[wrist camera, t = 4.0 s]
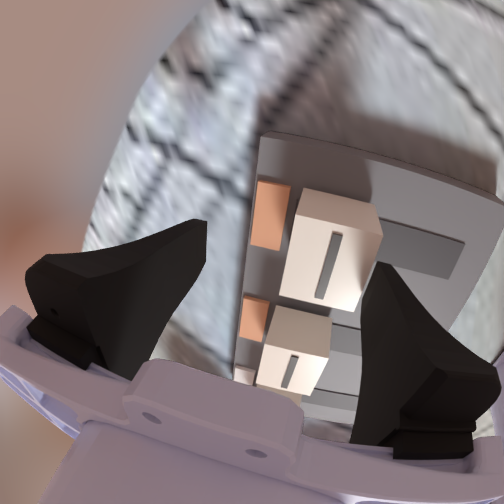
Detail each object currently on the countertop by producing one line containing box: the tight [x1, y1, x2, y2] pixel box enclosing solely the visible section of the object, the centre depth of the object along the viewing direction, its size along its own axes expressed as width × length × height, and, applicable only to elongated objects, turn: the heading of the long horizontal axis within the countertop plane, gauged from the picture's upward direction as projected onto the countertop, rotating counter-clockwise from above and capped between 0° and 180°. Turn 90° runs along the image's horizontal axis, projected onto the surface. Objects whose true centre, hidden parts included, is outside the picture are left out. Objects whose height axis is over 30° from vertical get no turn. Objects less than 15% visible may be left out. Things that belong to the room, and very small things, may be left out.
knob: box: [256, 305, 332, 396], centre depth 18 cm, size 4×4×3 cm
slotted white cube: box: [279, 188, 383, 312], centre depth 13 cm, size 4×4×3 cm
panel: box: [232, 131, 504, 425], centre depth 19 cm, size 14×23×2 cm, turn 174°
